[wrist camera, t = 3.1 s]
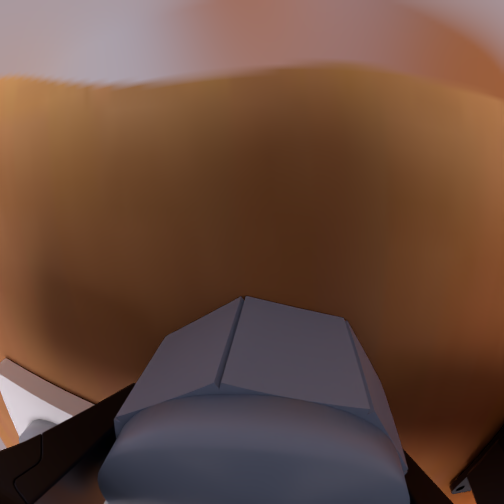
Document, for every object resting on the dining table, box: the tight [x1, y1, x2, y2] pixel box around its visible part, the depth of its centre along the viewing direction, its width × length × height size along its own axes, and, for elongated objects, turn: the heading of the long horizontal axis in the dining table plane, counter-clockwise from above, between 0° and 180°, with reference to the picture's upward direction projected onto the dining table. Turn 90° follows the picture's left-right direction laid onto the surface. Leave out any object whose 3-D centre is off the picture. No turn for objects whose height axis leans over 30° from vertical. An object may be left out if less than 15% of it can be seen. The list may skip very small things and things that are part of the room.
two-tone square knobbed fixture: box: [0, 358, 108, 504], centre depth 9 cm, size 8×8×5 cm
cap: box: [97, 296, 410, 504], centre depth 7 cm, size 7×7×5 cm
